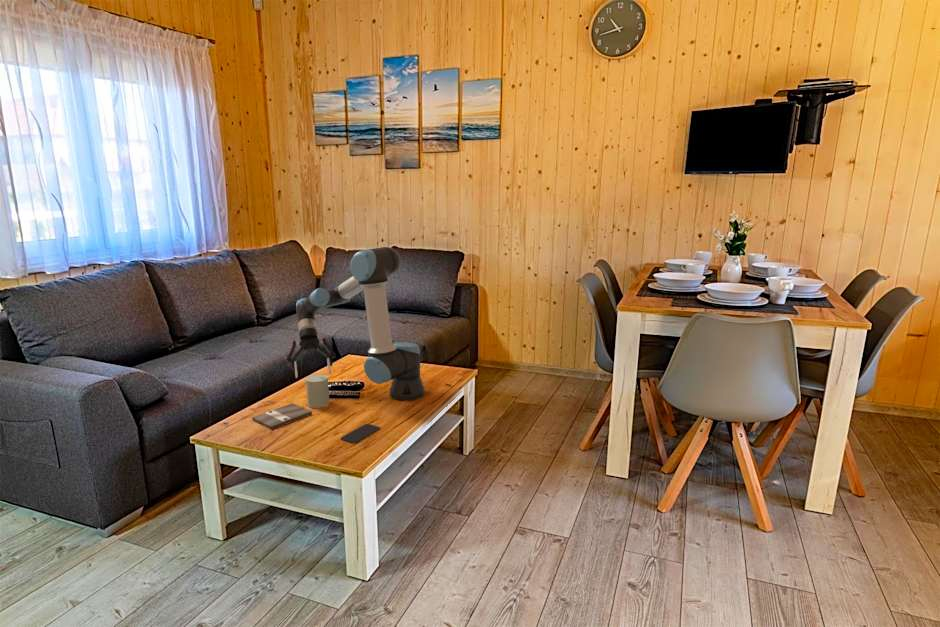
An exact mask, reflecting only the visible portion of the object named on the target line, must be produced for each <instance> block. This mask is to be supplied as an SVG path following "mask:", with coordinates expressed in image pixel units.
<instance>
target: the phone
mask: <svg viewBox="0 0 940 627" xmlns="http://www.w3.org/2000/svg"><path fill="white" fill-rule="evenodd" d="M379 429H380V430H381V427H380V426H377V425H373V424H370V423H364V425H361V426H359V427H357V428H356V429H354V430H352V431H350V432H349V433H347V434H344V435H343V436H341V437H340V441H342V440H343V441H342V442H345V441H346V443H348V442H350V443H349V444H351V443H356V444H358V443H360V442H361V441H360V440H362V439H363V440H365V439H366V438H365V437H367V436H368V437H370V436H371V435H370V434H372V433H373V434H375V433H376V431H377V430H378V431H379ZM378 431H377V432H378ZM374 432H375V433H374ZM373 434H372V435H373ZM369 435H370V436H369ZM368 437H367V438H368ZM364 438H365V439H364ZM363 440H362V441H363ZM359 441H360V442H359ZM357 442H358V443H357Z"/></svg>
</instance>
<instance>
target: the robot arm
mask: <svg viewBox="0 0 940 627" xmlns="http://www.w3.org/2000/svg"><path fill="white" fill-rule="evenodd" d="M401 259H402V258H401V256H400V254H399V253H398V251H397V250H395V249H394V248H391V247H389V246H382V247H375V248H367V249H363V250H359V251H357V252H356V253H354V255H353V256H352V258H351V261H350V263H349V264H350V266H349V267H350V273H351V277H349V278H347V279H346V280H345V281H343V282H342V283H340V284H339V285H338V286H336V287H334V288H331V289H330V288H329V289H327V290H326V289H325V288H322V287H318V288H316V289H314V290H313V291H312V292H311V294H309V295H308V297H304V298H303V297H302V298H300V299H298V300H297V301H296V304H295V310H296V318H297V324H298V325H297V326H298V333H299V334H298V335H299V336H298V337H299V341H295V340H293V341H292V346H291V348H290V351H289V353H288V355H287V358H286V363H287V364H291V370H292V371H294V374H295V375H294V376H295V379H298V375H299V374H298V367H297V365H298V364H297V360H299V358H300V357H301V355H302V354H303V353H305V352H309V351H311V352H312V351H317V352H318V353H320V354H321V355H322V356H324V357H325V358H326V363H327V371H328V374H329V375H331V374H332V369H331V367H333V359H335V358H336V353H335V352H334V350H333V349H332V348H331V346H330V345H329V344H328V342H327V340H326V338H325V337H323V338H322V339H319V337H318V330H317V323H316V314H318V313H319V311H320V310H322V309H326V308H329V307H333V306H338V305H343V304H346V303H348V302H350V301H351V300H352V299H353V297H354V296H356V295H357V294H359V293H361V292H362V291H363V297H364V303H365V312H366V318H367V326H368V334H369V341H370V347H369V349H368V350H367V353H368V354H367V355H368V358H366V359H365V361H364V363H363V370H364V373H365V375H366V377H367V378H368V379H369V380H370V381H371V382H373V383H374V384H377V385H381V384H385V383H388V382H391V381H392V382H391V385H390V387H389V397H390V398H392V399H393V400H397V401H415V400H418V399H421V398H422V397H424V396H425V387H424V384H423V381H422V378H421V351H420V345H419V344H418V343H414V342H410V341H397V342H393V340H392V339H393V338H392V333H391V332H392V331H391V324H390V323H391V322H390V316H389V308H388V301H387V300H388V299H387V292H386V285H387V284H388V282H389V277H390V276H392V275H393V274H395V273H397V272H398V271H399V269H400V267H401V262H402V260H401ZM320 344H321V345H323V347H324V348H325V349H324V348H323V347H321V345H320ZM298 346H300V347H299V349H298V351H297V352H296V353H295V351H296V348H297V347H298ZM294 353H295V354H294ZM293 355H294V356H293Z"/></svg>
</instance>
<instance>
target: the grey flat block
mask: <svg viewBox="0 0 940 627" xmlns="http://www.w3.org/2000/svg"><path fill="white" fill-rule="evenodd" d="M312 412H313V411H312V410H309V409H307V408H305V407H303V406H300V405H297V404H296V403H293V402H292V403H289V404H286V405H283V406H280V407H277V408H275V409H271V410H267V411H266V412H264V413H261V414H257V415H256V416H255V415H254V416H252V418H251V419H252V421H253V422H255V423H257V424H259V425H262V426H263V427H265V426H266V427H265V428H267V427H268V428H267V429H269V428H270V430H271V429H272V430H274V429H276V427H277V428H279V426H280V427H281V426H285V425H287V424H290V423H292V421H293V422H295V421H298V420H301V419H303V418H305V416H306V417H308V416H311V415H312ZM310 414H311V415H310ZM307 415H308V416H307ZM302 417H303V418H302ZM297 419H298V420H297ZM294 420H295V421H294ZM289 422H290V423H289ZM286 423H287V424H286ZM284 424H285V425H284ZM273 428H274V429H273Z"/></svg>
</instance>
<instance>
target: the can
mask: <svg viewBox="0 0 940 627" xmlns="http://www.w3.org/2000/svg"><path fill="white" fill-rule="evenodd" d="M304 380H305V388H306V389H305V391H306V406H307V407H308V406H309V407H308V408H310V407H312V408H311V409H320V408H319V407H322V408H325V407H324V406H326V405H328V404H329V403H330V402H331V401H330V388H329V376H328V375H326V374H322V373H316V374H315V373H314V374H311V375H308V376H306V377H305V379H304ZM330 404H331V403H330ZM330 404H329V405H330ZM329 405H328V406H329ZM326 407H327V406H326Z"/></svg>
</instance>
